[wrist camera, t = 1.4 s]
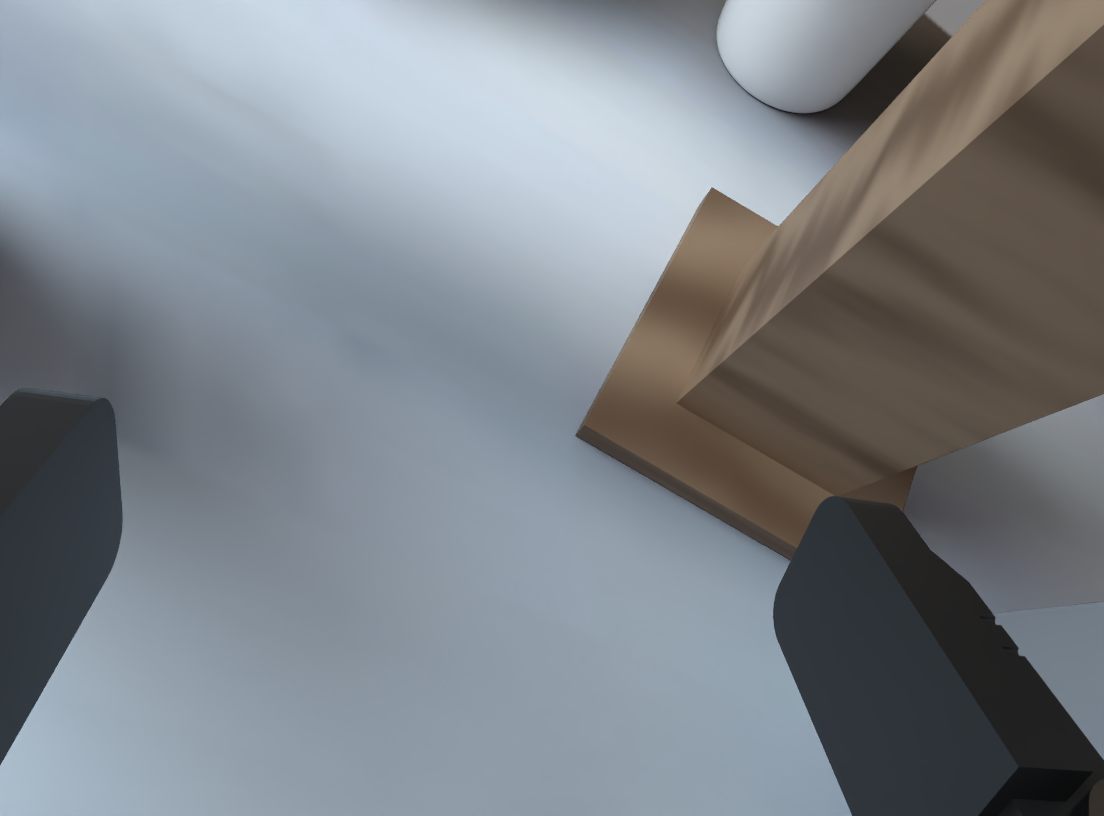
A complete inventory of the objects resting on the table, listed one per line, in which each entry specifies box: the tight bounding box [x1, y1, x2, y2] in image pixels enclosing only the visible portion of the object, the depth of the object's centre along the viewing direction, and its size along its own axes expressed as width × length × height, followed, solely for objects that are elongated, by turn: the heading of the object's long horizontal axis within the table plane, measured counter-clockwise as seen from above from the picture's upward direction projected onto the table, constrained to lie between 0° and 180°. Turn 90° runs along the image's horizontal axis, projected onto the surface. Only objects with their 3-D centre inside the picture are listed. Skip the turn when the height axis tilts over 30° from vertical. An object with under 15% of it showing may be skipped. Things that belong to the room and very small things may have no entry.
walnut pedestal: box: [576, 0, 1104, 560], centre depth 21 cm, size 16×14×32 cm
